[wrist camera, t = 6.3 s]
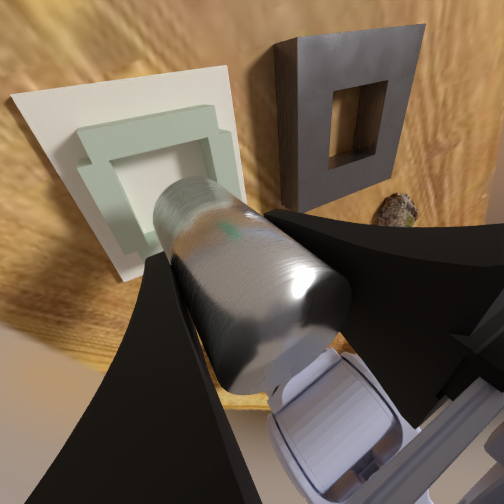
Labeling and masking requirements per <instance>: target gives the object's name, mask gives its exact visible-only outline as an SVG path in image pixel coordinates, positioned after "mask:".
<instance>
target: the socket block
mask: <svg viewBox="0 0 504 504" xmlns="http://www.w3.org/2000/svg"><path fill="white" fill-rule="evenodd" d="M425 26H426V24H416V25H407V26H398V27H388V28H379V29H370V30H360V31H351V32H342V33H332V34H323V35H314V36H304V37H297V38H293V39H290V40H286V41H283V42H279V43H276V44H274V56H275V76H276V96H277V115H278V135H279V155H280V175H281V195H282V205H283V206H285V207H286V208H288V209H290V210H291V211H293V212H298V213H304V212H307V211H309V210H312V209H314V208H317V207H319V206H322V205H324V204H327V203H329V202H332V201H334V200H337V199H339V198H342V197H344V196H347V195H349V194H352V193H354V192H357V191H360V190H362V189H365V188H367V187H370V186H372V185H375V184H377V183H380V182H382V181H385V180H387V179H390V178H391V175H392V170H393V166H394V162H395V157H396V153H397V148H398V144H399V140H400V135H401V131H402V127H403V122H404V118H405V113H406V109H407V105H408V100H409V96H410V92H411V87H412V83H413V78H414V74H415V70H416V65H417V61H418V57H419V52H420V48H421V44H422V39H423V35H424V30H425ZM356 86H361V92H360V100H359V108H358V116H357V124H356V132H355V140H354V148H353V150H351V151H348V152H345V153H342V154H339V155H336V156H333V157H329V146H330V131H331V116H332V102H333V91H337V90H342V89H346V88H351V87H356Z"/></svg>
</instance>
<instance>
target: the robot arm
mask: <svg viewBox="0 0 504 504" xmlns="http://www.w3.org/2000/svg"><path fill="white" fill-rule="evenodd" d="M264 218H265V219H267V220H268V221H269V222H271V223H272V224H273V225H275V226H276V227H277V228H279V229H280V230H282V231H283V232H284V233H286V234H287V235H288V236H290V237H291V238H292V239H294V240H295V241H296V242H298V243H299V244H300V245H302V246H303V247H304V248H306V249H307V250H308V251H310V252H311V253H313V254H314V255H315V256H317V257H318V258H319V259H321V260H322V261H323V262H325V263H326V264H327V265H329V266H330V267H331V268H333V269H334V270H335V271H337V272H338V273H339V274H341V275H342V276H344V277H345V278H346V279H347V281H348V282H349V284H350V286H351V291H352V300H351V306H350V310H349V313H348V315H347V318H346V320H345V322H344V324H343V326H342V327H341V329H340V333H341V334H342V335H343V336H344V338H345V339H346V340H347V341H348V343H349V344H350V345H351V346H352V348H353V349H354V350H355V351H356V353H357V354H358V355H359V356H358V355H356V354H352V353H348V352H343V353H341V354H340V355H339V354H338V353H337V352H336V351H335V350H334V349H333V348H332V347H331V348H330V349H328V348H326V349H325V350H324V351H323V353H322V354H321V355H320V356H319V357H318V358H317V359H315V360H314V361H313V362H312V363H311V364H310V365H309V366H308V367H306V368H305V369H304V370H302V371H301V372H300V373H298V374H297V375H295V376H294V377H293V378H291V379H289V380H288V381H286V382H284V383H282V384H280V385H279V386H276V387H274V388H272V389H269V390H267V391H265V393H266V395H267V396H268V397H269V399H268V400H267V403H268V405H269V406H270V408H271V410H272V412H271V413H270V414H269V415H268V416H267V433H268V436H269V439H270V442H271V444H272V446H273V448H274V451H275V453H276V455H277V457H278V459H279V461H280V463H281V465H282V466H283V468H284V470H285V471H286V473H287V475H288V477H289V478H290V480H291V482H292V483H293V485H294V486H295V487H296V489H297V490H298V491H299V493H300V494H301V495H302V496H303V497H304V498H305V499H306V501H307V502H308V504H434V503H433V502H432V501H431V499H430V498H429V490H428V488H429V487H430V486H431V485H432V484H433V483H434V482H435V481H436V480H437V479H438V478H439V477H440V475H441V474H442V473H443V472H444V471H445V470H446V469H447V468H448V467H449V466H450V465H451V464H452V463H453V461H454V460H455V459H456V458H457V457H458V456H459V455H460V454H461V453H462V452H463V451H464V450H465V449H466V447H468V445H469V444H470V443H471V442H472V441H473V440H474V439H475V438H476V437H477V436H478V435H479V434H480V433H481V432H482V431H483V429H484V428H485V427H486V426H487V425H488V424H489V423H490V422H491V421H492V420H493V419H494V418H495V417H496V416H497V414H498V413H499V412H500V411H501V410H502V409H503V408H504V223H502V224H491V225H478V226H462V227H392V226H379V225H368V224H359V223H352V222H345V221H339V220H333V219H328V218H323V217H318V216H313V215H308V214H303V213H298V212H293V211H288V210H281V209H275V210H272V211H270V212H267V213H264ZM449 398H450V399H451V400H452V401H453V402H452V403H451V404H450V405H449V406H448V407H446V408H445V409H444V410H443V411H442V412H441V413H440V414H439V415H438V416H437V417H436V418H435V419H434V420H433V421H432V422H431V423H429V424H428V425H427V426H426V427H425V428H424V429H423V430H422V431H421V429H420V427H419V426H420V425H421V424H422V423H423V422H424V421H425V420H427V419H428V418H429V417H430V416H431V415H432V414H433V413H434V412H435V411H436V410H437V409H439V408H440V407H441V406H442V405H443V404H444V403H445V402H446V401H447V400H448V399H449ZM484 449H485V451H486V452H487V453H488V454H489V455H490V456H491V457H493V458H494V459H495V460H496V461H497V463H496V464H495V465H494V466H493V467H492V468H491V469H490V470H489V471H488V472H487V473H486V474H485V475H484V476H483V477H482V478H481V479H480V480H479V481H478V482H477V483H476V484H475V485H474V487H472V489H471V490H470V491H469V492H468V493H467V494H466V495H465V496H464V497H463V498H462V499H461V500H460V501H459V502H458V503H457V504H504V422H503V423H501V424H500V425H499V426H498V427H497V428H496V429H495V430H494V431H493V432H492V434H491V435H490V437H489V438H488V440H487V442H486V443H485V445H484ZM24 504H262V502H261V499H260V497H259V494H258V492H257V490H256V487H255V484H254V482H253V480H252V477H251V475H250V473H249V470H248V468H247V465H246V463H245V460H244V458H243V455H242V453H241V451H240V448H239V446H238V443H237V441H236V438H235V436H234V433H233V431H232V429H231V426H230V424H229V421H228V419H227V417H226V414H225V411H224V409H223V407H222V404H221V402H220V399H219V397H218V394H217V392H216V389H215V387H214V385H213V382H212V380H211V377H210V374H209V371H208V368H207V365H206V362H205V359H204V355H203V352H202V349H201V345H200V342H199V339H198V335H197V332H196V329H195V325H194V322H193V320H192V317H191V315H190V313H189V310H188V308H187V306H186V303H185V301H184V298H183V296H182V294H181V291H180V288H179V285H178V282H177V279H176V277H175V275H174V272H173V270H172V268H171V265H170V263H169V261H168V258H167V256H166V254H165V251H163V252H160V253H157V254H155V255H152V256H149V257H147V258H146V260H145V266H144V273H143V278H142V283H141V287H140V291H139V294H138V298H137V302H136V305H135V308H134V311H133V314H132V316H131V319H130V322H129V325H128V328H127V330H126V333H125V335H124V337H123V340H122V342H121V344H120V346H119V349H118V351H117V353H116V355H115V357H114V359H113V361H112V363H111V365H110V367H109V369H108V371H107V373H106V375H105V377H104V379H103V381H102V383H101V385H100V386H99V388H98V390H97V392H96V393H95V396H94V397H93V399H92V401H91V402H90V404H89V406H88V407H87V409H86V411H85V412H84V414H83V415H82V417H81V419H80V420H79V422H78V423H77V425H76V427H75V429H74V430H73V432H72V433H71V435H70V436H69V438H68V440H67V441H66V443H65V445H64V446H63V448H62V449H61V451H60V452H59V454H58V456H57V457H56V458H55V460H54V462H53V463H52V464H51V466H50V467H49V469H48V470H47V472H46V473H45V475H44V476H43V478H42V479H41V480H40V482H39V483H38V485H37V486H36V488H35V489H34V491H33V492H32V493H31V495H30V496H29V498H28V499H27V500H26V502H25V503H24Z"/></svg>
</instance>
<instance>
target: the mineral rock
mask: <svg viewBox="0 0 504 504" xmlns="http://www.w3.org/2000/svg"><path fill="white" fill-rule="evenodd" d="M409 198H410V197H408V195H407V194H403V193H402V194H398V193H395V194H394V195H393V197H392V198H391V197H387V198H386V200H385V204H384V205H383V207H382V208H381V209H380V211H379V214H378V221H377V225H379V226H392V227H413V224H414V222H416V220H417V219H418V216H417V212H418V211H417V207H416V206H415V205H414V203H413V201H412V200H410V199H409Z"/></svg>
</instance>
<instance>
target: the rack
mask: <svg viewBox="0 0 504 504" xmlns="http://www.w3.org/2000/svg"><path fill="white" fill-rule="evenodd" d="M10 96H11V97H12V99H13V101H14V102H15V104H16V105H17V107H18V109H19V110H20V112H21V114H22V115H23V117H24V119H25V120H26V122H27V124H28V125H29V127H30V129H31V130H32V132H33V133H34V135H35V137H36V138H37V140H38V142H39V143H40V145H41V147H42V148H43V150H44V152H45V153H46V155H47V156H48V158H49V160H50V161H51V163H52V165H53V166H54V168H55V170H56V171H57V173H58V175H59V176H60V178H61V180H62V181H63V183H64V184H65V186H66V188H67V189H68V191H69V193H70V194H71V196H72V198H73V199H74V201H75V203H76V204H77V206H78V207H79V209H80V211H81V212H82V214H83V216H84V217H85V219H86V221H87V222H88V224H89V226H90V227H91V229H92V230H93V232H94V234H95V235H96V237H97V239H98V240H99V242H100V244H101V245H102V247H103V249H104V250H105V252H106V254H107V255H108V257H109V258H110V260H111V262H112V263H113V265H114V267H115V268H116V270H117V272H118V273H119V275H120V277H121V278H122V280H123V281H124V282H126V281H129V280H131V279H134V278H136V277H139V276H142V275H143V273H144V266H145V260H146V258H147V257H149V256H152V255H155V254H157V253H160V252H163V248H162V246H161V244H160V241H159V239H158V236H157V234H156V232H155V229H154V225H153V210H154V207H155V204H156V202H157V199H158V198H159V196H160V195H161V193H162V192H163V191H164V190H165V189H166V188H167V187H168V186H170V185H171V184H173V183H174V182H176V181H178V180H181V179H183V178H188V177H204V178H208V179H211V180H213V181H215V182H217V183H218V184H219V185H221V186H222V187H224V188H225V189H226V190H228V191H229V192H230V193H232V194H233V195H234V196H236V197H237V198H238V199H240V200H241V201H242V202H244V203H245V204H246V205H247V200H246V193H245V186H244V180H243V173H242V166H241V159H240V152H239V145H238V138H237V131H236V124H235V118H234V111H233V104H232V97H231V90H230V83H229V76H228V69H227V65H223V66H215V67H208V68H201V69H193V70H186V71H179V72H171V73H164V74H157V75H149V76H142V77H135V78H127V79H120V80H113V81H105V82H98V83H91V84H83V85H76V86H69V87H61V88H54V89H47V90H39V91H32V92H25V93H17V94H10Z"/></svg>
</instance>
